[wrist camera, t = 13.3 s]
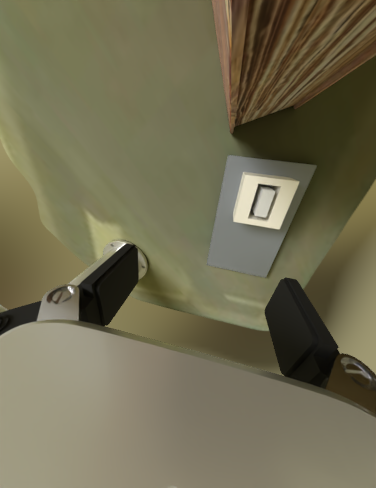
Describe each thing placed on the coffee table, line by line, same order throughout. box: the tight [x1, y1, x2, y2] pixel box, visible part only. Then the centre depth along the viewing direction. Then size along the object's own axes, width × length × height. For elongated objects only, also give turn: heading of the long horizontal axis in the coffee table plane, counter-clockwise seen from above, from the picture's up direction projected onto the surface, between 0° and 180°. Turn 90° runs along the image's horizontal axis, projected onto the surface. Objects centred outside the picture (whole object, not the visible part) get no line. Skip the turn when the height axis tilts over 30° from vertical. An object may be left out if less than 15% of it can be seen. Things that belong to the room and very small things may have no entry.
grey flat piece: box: [207, 155, 317, 278], centre depth 28 cm, size 22×13×6 cm, turn 174°
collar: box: [233, 172, 299, 229], centre depth 25 cm, size 7×7×4 cm
